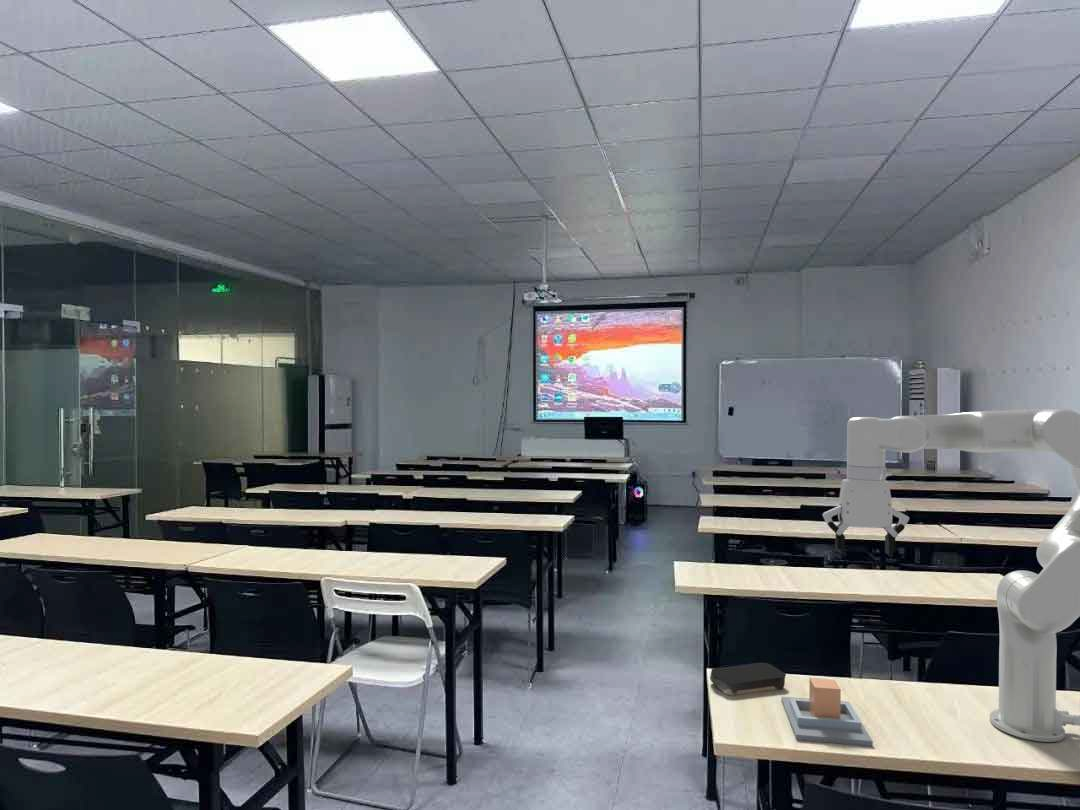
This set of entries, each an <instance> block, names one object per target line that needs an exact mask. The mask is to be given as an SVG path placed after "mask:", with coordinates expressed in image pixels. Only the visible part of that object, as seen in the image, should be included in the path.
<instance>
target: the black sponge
mask: <svg viewBox="0 0 1080 810" xmlns="http://www.w3.org/2000/svg"><path fill="white" fill-rule="evenodd" d="M786 676H787V675H786V673H785V672H783V671H782V670H780V669H778V668H777V667H776V666H774V665H772V664H770V663H767V662H753V663H747V664H740V665H731V666H727V667H726V666H725V667H724V666H723V667H713V668H711V671H710V677H709V678H710V682H711V683H712V684H713V686H715V687H717V689H719V690H720V691H721V693H723V694H725V695H727V696H733V697H734V696H737V695H746V694H752V693H758V692H759V693H760V691H761V692H768V691H774V690H776V691H778V690H782V689H783V688H784V687H785V683H786V681H785V679H786ZM767 690H768V691H767Z"/></svg>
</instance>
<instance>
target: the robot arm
mask: <svg viewBox="0 0 1080 810" xmlns="http://www.w3.org/2000/svg"><path fill="white" fill-rule="evenodd" d="M927 449H928V450H931V449H932V450H953V451H954V450H957V451H962V452H969V453H1012V452H1013V453H1015V452H1016V453H1017V452H1019V453H1021V452H1028V453H1029V452H1052V453H1053V452H1054V453H1055V454H1056V455H1058V456H1059V457H1060V458H1061V459H1063V460H1064V461H1065V462H1067V464H1069V465H1070V469H1071V474H1072V476H1073V477H1074V480H1075V483H1076V488H1077V489H1076V490H1077V493H1076V497H1075V500H1074V502H1073V504H1072V505H1071V507H1070V508H1069V509H1068V511H1067V512H1066V514H1065V515H1063V516H1062V518H1061V519H1060V520H1059V521H1058V522H1057V524H1056V525H1055V526H1054V527H1053V528H1051V530H1050V531H1049V533H1048V534H1046V536H1045V537H1044V538H1043V539H1042V540H1041V541H1040V542H1039V544H1038V546H1037V548H1036V555H1035V556H1036V558H1037V562H1038V563H1039V565H1040V566H1041V567H1042V570H1041V571H1040V572H1039V573H1036V572H1033V571H1030V570H1021V569H1020V570H1014V571H1011V572H1008V573H1007V574H1005V575H1004V576H1003V577H1002V578H1001V580H999V582H998V585H997V589H996V605H997V613H998V620H999V621H998V624H999V626H998V627H999V628H998V629H999V647H998V649H999V650H998V651H999V652H998V657H999V658H998V709H995V710H993V711H991V712H990V714H989V722H990V723H991V724H992V726H994V727H995V728H997V729H998V730H1000V731H1002V732H1004V733H1006V734H1009V735H1012V736H1014V737H1017V738H1020V739H1025V740H1028V741H1034V742H1041V743H1054V742H1060V741H1062V740H1064V739H1065V737H1066V730H1065V728H1064V727H1065V726H1067V725H1071V726H1079V727H1080V714H1079V715H1078V714H1077V715H1076V714H1069V711H1068V710H1058V708H1056V705H1057V655H1058V654H1057V648H1058V646H1057V633H1059V632H1062V631H1063V630H1066V629H1067V628H1069V627H1070V626H1072V625H1073V624H1074V622H1076V620H1077V619H1078V618H1080V413H1079V412H1076V411H1073V410H1072V409H1061V408H1059V409H1058V408H1057V409H1054V408H1041V409H1040V408H1039V409H1011V410H982V411H968V412H960V413H959V412H958V413H950V414H946V413H945V414H928V415H925V414H923V415H922V414H921V415H898V416H897V415H896V416H894V417H892V418H880V417H874V416H873V417H872V416H856V417H855V416H854V417H851V418H849V419H848V421H847V424H846V478H844V479H842V481H841V484H840V485H841V486H840V491H839V500H838V506H836V507H833V508H832V509H829V510H827V511H824V512H823V513H822V515H821V516H822V517H823V520H824V521H825V523H826V525H827V526H828V528H830V529H831V530H832V532H833V533H834V534H835V543H834V545H835V546H834V547H835V549H836V550H837V552H839V553H840V555H844V554H846V536H845V535H844V532H845V531H846V530H847V529H848V528H849V527H850V528H866V529H867V528H870V529H871V528H872V529H873V528H874V529H884V531H885V532H886V534H885V535H884V553H885V554H886V555H888V556H889V557H893V556H894V552H895V551H896V538H897V537H898V535H900V533H901V532H902V531H904V530H905V527H906V526H907V524H908V522H909V521H910V517H909V516H908V515H907V514H904V513H903V512H900V511H898V510H897V509H895V508H893V505H892V504H893V503H892V494H891V488H890V484H889V481H887V477H890V476H893V470H892V469H889V468H887V466H886V451H893V452H899V453H907V454H908V453H909V454H910V453H915V452H918V451H920V450H927ZM834 516H837V518H838V521H839V523H838V524H837V525H836V524H835V523H834V521H833V519H832V518H833V517H834ZM893 516H894V517H896V518H898V519H899V520H898V522H897V523H896V524H895V525H894V526H893V527H892V524H893Z"/></svg>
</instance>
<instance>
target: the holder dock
mask: <svg viewBox="0 0 1080 810" xmlns="http://www.w3.org/2000/svg"><path fill="white" fill-rule="evenodd" d="M780 698H781V700H780V702H781V704H782V707H783V710H784V712H785V714H786V717H787V719H788V723H789V725H790V727H791V730H792V733H793V735H794V739H795V740H797V741H805V742H806V741H808V742H817V743H818V742H819V743H820V742H821V743H830V744H831V743H832V744H843V745H853V746H866V747H873V746H874V740H873V738H872V737H871V736H870V734H869V733H868V731H867V730H866V728H865V726H864V725H863V722H862V721H861V719H860V717H859V716H858V714H857V713H856V711H855V709H854V708H853V706H852V705H851V703H850V702H849V701H845V700H844V701H843V700H841V706H840V719H834V718H821V717H812V716H811V714H810V712H809V698H805V697H793V696H791V697H790V696H781V697H780Z"/></svg>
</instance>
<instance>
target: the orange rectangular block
mask: <svg viewBox="0 0 1080 810" xmlns="http://www.w3.org/2000/svg"><path fill="white" fill-rule="evenodd" d="M841 693H842V692H841V687H840V686H839V684H838V683H837V681H836V679H834V678H832V679H831V678H816V677H809V694H808V695H809V697H808V699H809V712H810V714H811V716H812V717H821V718H834V719H840V706H841V701H842V700H841V698H842V696H841Z"/></svg>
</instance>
